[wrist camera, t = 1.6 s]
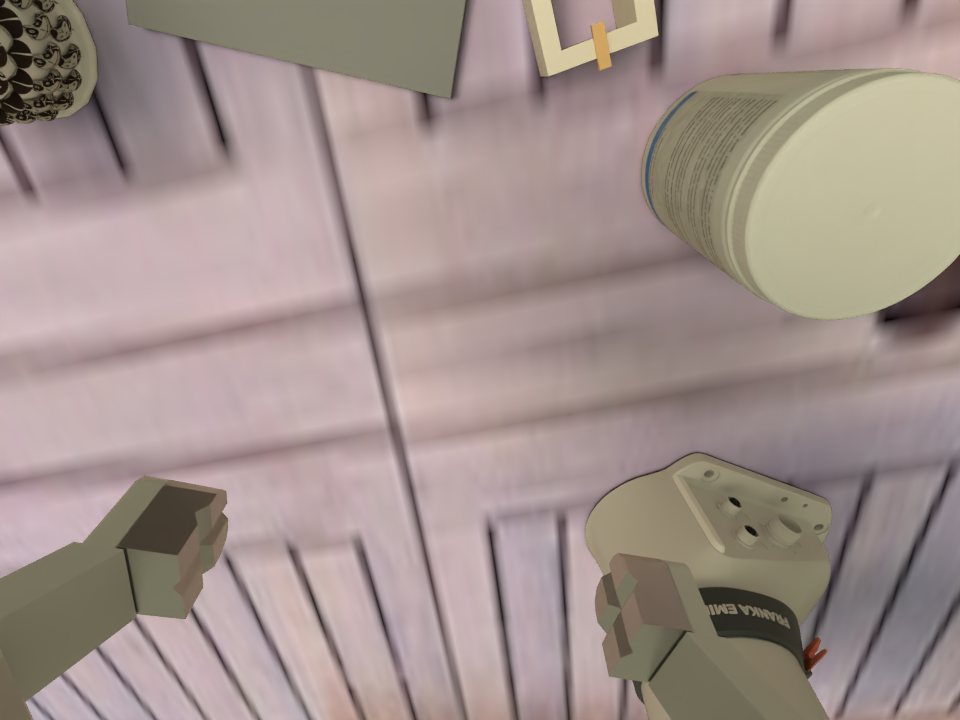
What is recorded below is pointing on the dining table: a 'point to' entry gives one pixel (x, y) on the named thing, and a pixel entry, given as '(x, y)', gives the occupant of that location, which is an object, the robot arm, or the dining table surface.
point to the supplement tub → (814, 183)
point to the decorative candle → (44, 60)
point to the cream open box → (631, 28)
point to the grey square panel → (327, 34)
